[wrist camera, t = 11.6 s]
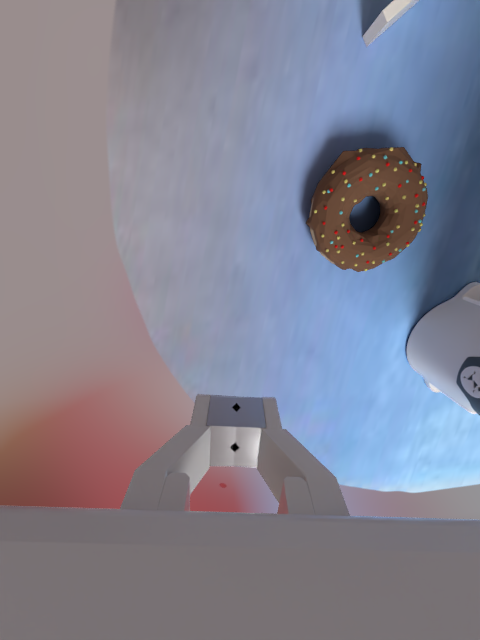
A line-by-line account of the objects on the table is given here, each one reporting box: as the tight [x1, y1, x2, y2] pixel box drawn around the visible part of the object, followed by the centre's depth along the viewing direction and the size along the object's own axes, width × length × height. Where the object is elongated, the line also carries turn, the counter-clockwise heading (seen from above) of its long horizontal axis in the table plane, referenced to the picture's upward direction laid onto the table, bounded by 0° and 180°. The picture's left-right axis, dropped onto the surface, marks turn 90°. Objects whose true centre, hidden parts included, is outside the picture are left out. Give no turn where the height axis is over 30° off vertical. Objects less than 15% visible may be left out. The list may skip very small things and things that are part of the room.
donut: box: [306, 147, 428, 272], centre depth 32 cm, size 14×14×5 cm
